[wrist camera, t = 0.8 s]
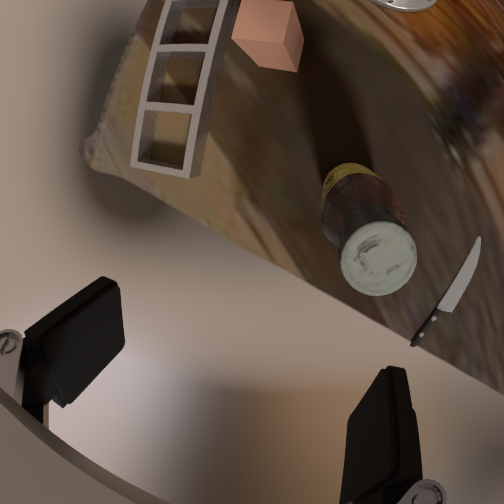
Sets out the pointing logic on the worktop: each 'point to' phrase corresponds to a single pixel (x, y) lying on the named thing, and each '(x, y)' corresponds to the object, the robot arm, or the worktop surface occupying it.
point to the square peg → (270, 33)
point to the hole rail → (205, 91)
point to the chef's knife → (453, 290)
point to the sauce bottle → (367, 230)
